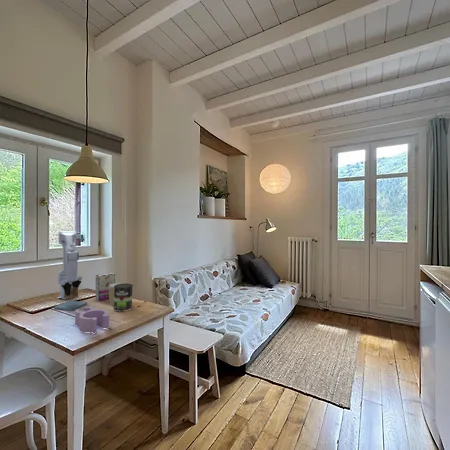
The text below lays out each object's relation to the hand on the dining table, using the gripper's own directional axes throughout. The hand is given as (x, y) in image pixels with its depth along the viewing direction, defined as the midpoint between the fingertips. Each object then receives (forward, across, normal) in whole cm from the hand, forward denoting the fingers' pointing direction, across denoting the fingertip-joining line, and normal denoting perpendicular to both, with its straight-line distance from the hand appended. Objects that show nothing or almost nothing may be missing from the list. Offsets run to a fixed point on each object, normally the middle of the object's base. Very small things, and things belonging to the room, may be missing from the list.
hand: (71, 294), depth 152 cm
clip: (+8, -20, -30) cm, 37 cm away
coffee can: (+8, +5, -31) cm, 32 cm away
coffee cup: (+8, +12, -22) cm, 26 cm away
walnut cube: (+2, 0, 0) cm, 2 cm away
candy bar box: (+8, +19, -9) cm, 22 cm away
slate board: (+8, 0, 0) cm, 8 cm away
